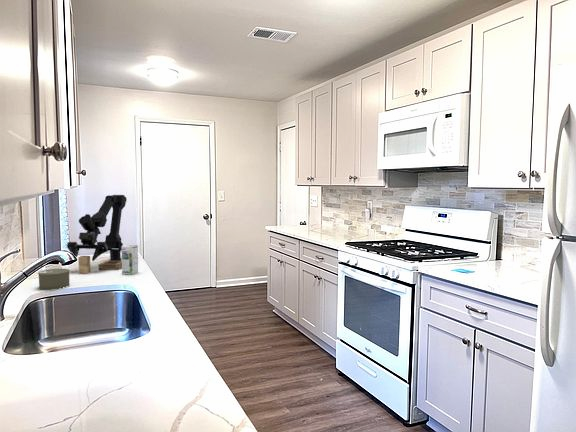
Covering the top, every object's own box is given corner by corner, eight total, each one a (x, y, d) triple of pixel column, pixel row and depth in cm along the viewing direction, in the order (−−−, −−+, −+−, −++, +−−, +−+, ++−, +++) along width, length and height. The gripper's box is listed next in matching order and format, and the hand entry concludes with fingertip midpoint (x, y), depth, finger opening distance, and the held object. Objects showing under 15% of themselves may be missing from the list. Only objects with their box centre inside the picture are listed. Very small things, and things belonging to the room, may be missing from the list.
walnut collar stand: (106, 266, 224) (105, 260, 223) (125, 266, 224) (125, 260, 224) (98, 270, 213) (98, 264, 213) (119, 269, 214) (118, 264, 214)
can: (69, 288, 176) (69, 272, 176) (37, 291, 171) (36, 275, 170) (70, 282, 187) (70, 267, 186) (40, 285, 182) (39, 269, 181)
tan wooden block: (82, 272, 208) (81, 255, 207) (90, 272, 208) (90, 255, 208) (79, 274, 204) (78, 257, 203) (87, 273, 204) (86, 257, 204)
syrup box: (121, 274, 204) (120, 245, 203) (129, 271, 209) (128, 244, 208) (131, 275, 202) (130, 246, 201) (138, 272, 208) (138, 244, 207)
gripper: (67, 226, 208) (58, 251, 198) (105, 226, 209) (97, 250, 199) (75, 239, 216) (66, 264, 206) (111, 239, 218) (104, 263, 207)
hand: (83, 260), depth 204 cm, fingers open, 9 cm apart
